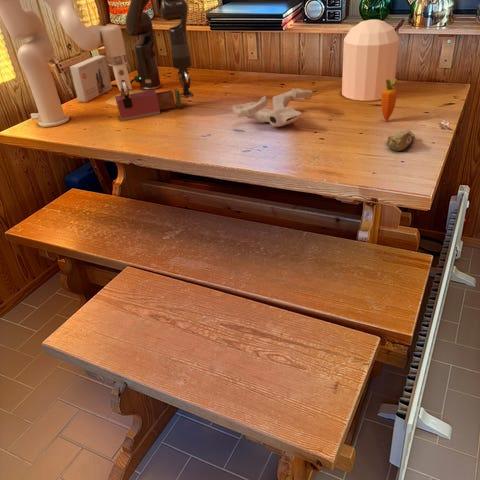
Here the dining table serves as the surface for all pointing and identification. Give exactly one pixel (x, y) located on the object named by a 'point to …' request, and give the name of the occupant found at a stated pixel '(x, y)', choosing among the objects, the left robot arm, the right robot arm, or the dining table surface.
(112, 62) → the left robot arm
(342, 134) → the dining table surface
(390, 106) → the carrot
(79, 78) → the skincare box
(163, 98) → the drawer
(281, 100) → the beige irregular branched piece
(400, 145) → the rock
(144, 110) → the cabinet
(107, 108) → the dining table surface
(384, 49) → the container
